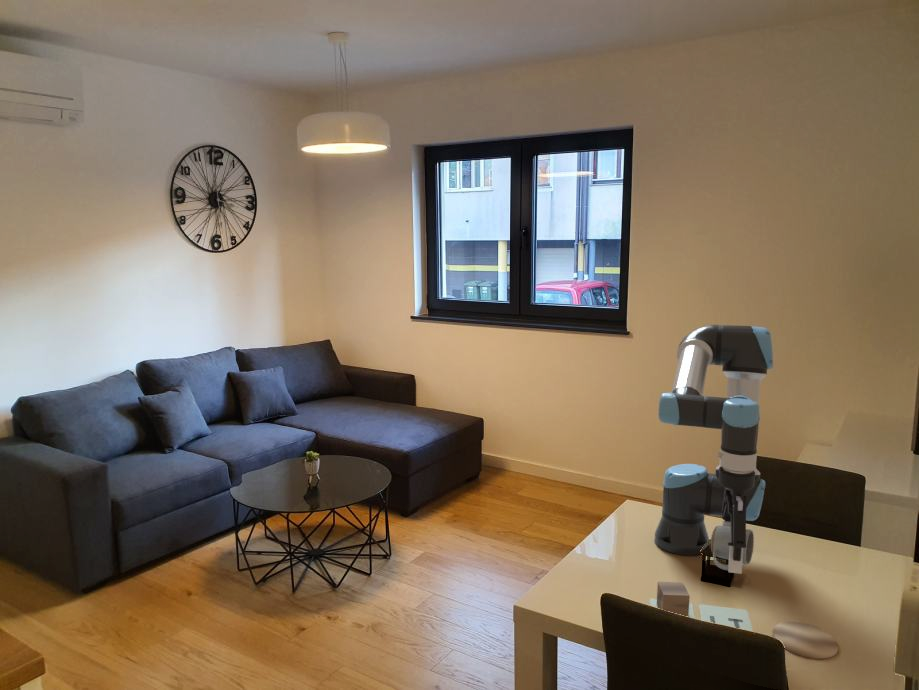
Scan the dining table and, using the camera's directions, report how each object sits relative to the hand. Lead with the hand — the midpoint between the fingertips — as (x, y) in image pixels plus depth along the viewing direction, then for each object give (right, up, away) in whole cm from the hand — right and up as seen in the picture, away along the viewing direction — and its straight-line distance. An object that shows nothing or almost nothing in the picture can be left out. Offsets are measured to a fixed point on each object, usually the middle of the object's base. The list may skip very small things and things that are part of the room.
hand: (730, 559), depth 154 cm
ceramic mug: (0, -1, 0) cm, 1 cm away
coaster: (+15, -17, -4) cm, 23 cm away
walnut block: (-11, -15, +7) cm, 20 cm away
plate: (-11, -15, +7) cm, 20 cm away
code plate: (0, -16, +3) cm, 16 cm away
